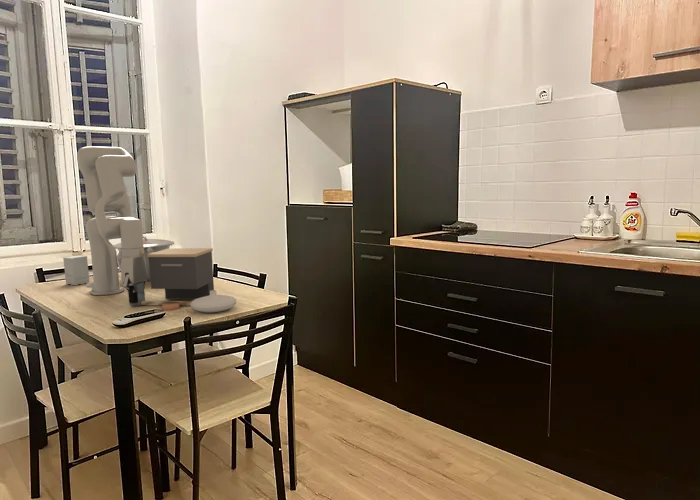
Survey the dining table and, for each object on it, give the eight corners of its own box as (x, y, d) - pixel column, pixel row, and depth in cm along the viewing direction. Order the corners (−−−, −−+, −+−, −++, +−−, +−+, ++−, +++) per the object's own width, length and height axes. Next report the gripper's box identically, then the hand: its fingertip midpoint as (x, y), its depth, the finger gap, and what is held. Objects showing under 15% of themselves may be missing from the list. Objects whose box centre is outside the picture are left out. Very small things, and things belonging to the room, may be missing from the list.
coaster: (159, 311, 177) (158, 305, 177) (166, 307, 183) (166, 301, 183) (175, 311, 177) (175, 305, 176) (182, 307, 183) (182, 301, 182)
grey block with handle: (129, 305, 184) (127, 284, 183) (135, 302, 188) (133, 282, 187) (188, 306, 181) (187, 284, 180) (193, 303, 185) (191, 282, 184)
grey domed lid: (193, 318, 166) (192, 297, 165) (188, 308, 180) (187, 288, 179) (241, 312, 172) (240, 292, 171) (232, 302, 187) (231, 284, 186)
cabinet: (150, 304, 186) (146, 254, 183) (171, 295, 201) (168, 248, 199) (198, 305, 183) (194, 254, 181) (215, 295, 199) (212, 248, 196)
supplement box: (90, 282, 231) (87, 255, 229) (74, 285, 225) (71, 258, 223) (81, 281, 235) (78, 255, 233) (65, 284, 229) (62, 257, 227)
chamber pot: (136, 273, 254) (132, 232, 251) (187, 273, 250) (184, 232, 248) (101, 284, 227) (97, 239, 224) (158, 284, 223) (154, 238, 220)
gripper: (136, 249, 192) (140, 296, 194) (109, 255, 175) (114, 306, 178) (154, 249, 191) (158, 296, 193) (129, 255, 174) (134, 307, 177)
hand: (137, 300), depth 185 cm, fingers closed on grey block with handle, 3 cm apart
